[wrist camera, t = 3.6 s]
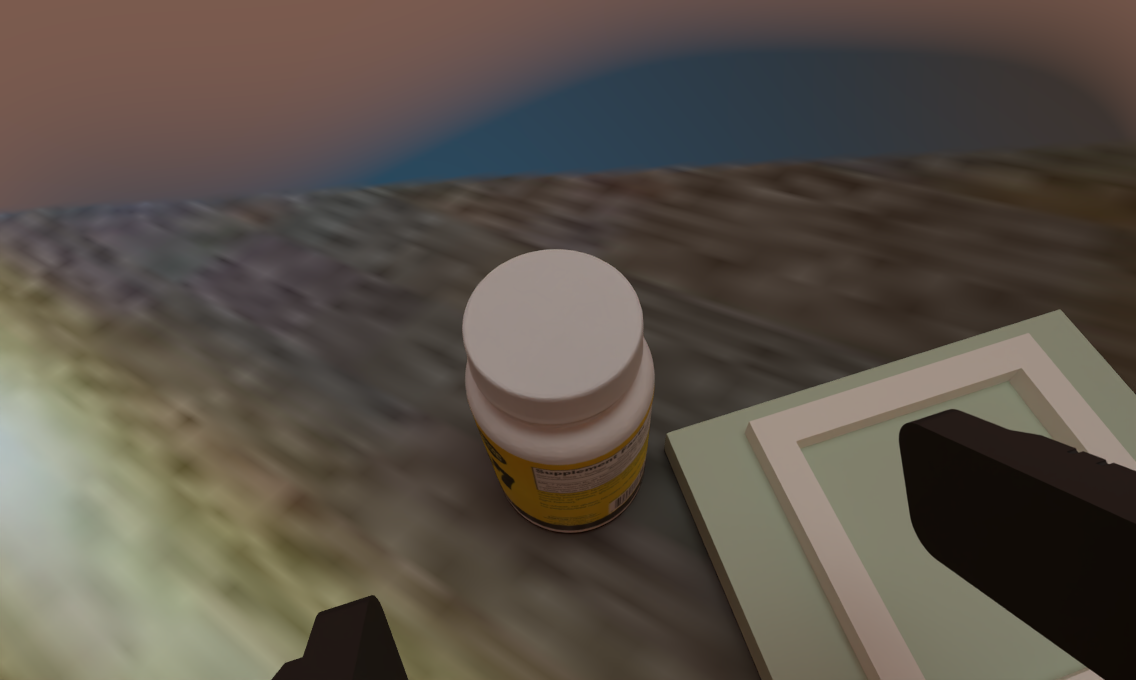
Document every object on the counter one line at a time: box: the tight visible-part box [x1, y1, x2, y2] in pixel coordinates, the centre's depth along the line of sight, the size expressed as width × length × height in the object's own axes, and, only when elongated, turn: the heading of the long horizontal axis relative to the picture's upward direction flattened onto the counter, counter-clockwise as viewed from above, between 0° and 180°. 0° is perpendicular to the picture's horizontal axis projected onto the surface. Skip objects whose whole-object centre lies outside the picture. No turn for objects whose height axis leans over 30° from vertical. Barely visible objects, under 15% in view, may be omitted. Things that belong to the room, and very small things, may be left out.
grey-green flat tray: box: [664, 310, 1136, 680], centre depth 19 cm, size 14×11×2 cm
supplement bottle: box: [462, 249, 655, 533], centre depth 18 cm, size 5×5×8 cm
